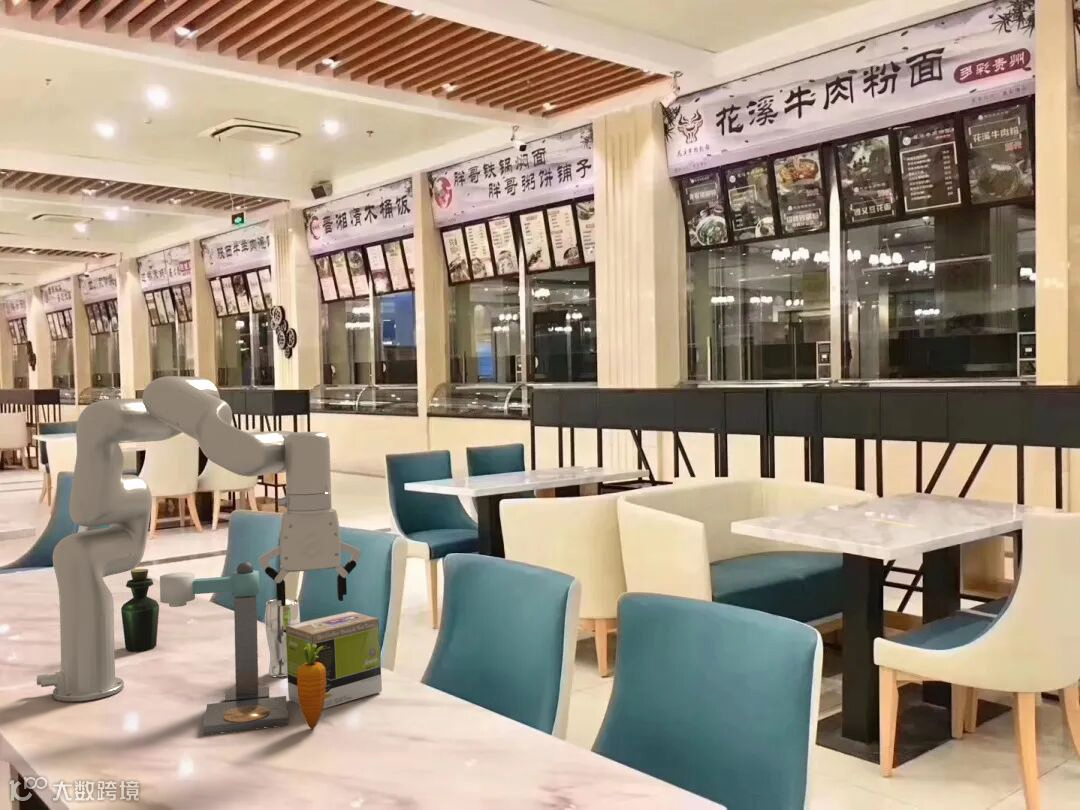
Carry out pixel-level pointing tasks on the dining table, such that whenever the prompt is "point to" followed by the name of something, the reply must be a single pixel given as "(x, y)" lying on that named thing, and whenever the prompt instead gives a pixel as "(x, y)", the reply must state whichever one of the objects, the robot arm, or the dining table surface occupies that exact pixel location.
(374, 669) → the tea box
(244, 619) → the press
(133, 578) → the potion bottle
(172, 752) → the dining table surface
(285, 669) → the beer glass
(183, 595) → the press arm
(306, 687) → the carrot
